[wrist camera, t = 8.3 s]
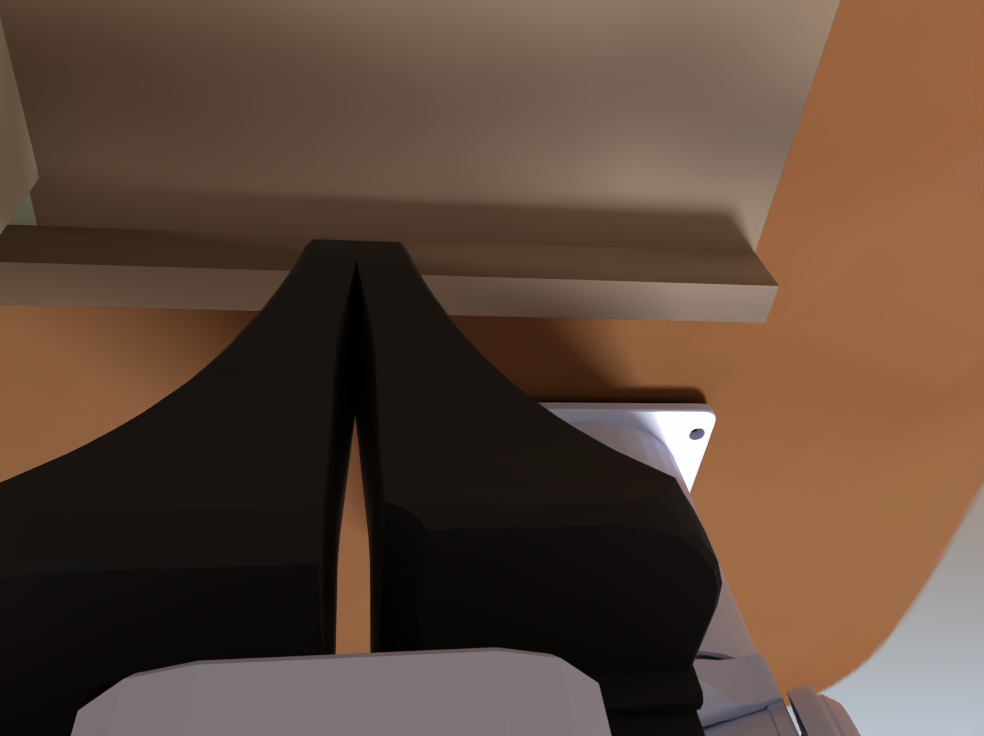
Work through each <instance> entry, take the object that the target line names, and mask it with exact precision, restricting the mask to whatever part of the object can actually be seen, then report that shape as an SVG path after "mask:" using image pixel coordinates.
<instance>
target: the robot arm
mask: <svg viewBox="0 0 984 736" xmlns="http://www.w3.org/2000/svg"><path fill="white" fill-rule="evenodd" d="M355 416H356V425H357V435H358V444H359V453H360V462H361V472H362V481H363V490H364V499H365V508H366V517H367V526H368V536H369V552H370V653H359V654H337V655H336V611H337V567H338V552H339V539H340V530H341V522H342V515H343V507H344V499H345V491H346V483H347V476H348V468H349V460H350V452H351V444H352V436H353V428H354V420H355ZM715 419H716V417H715V414H714V412H713V410H712V408H711V407H710V406H708V405H707V404H699V403H538V402H537V401H535V400H534V399H532V398H531V397H530V396H528V395H527V394H526V393H524V392H523V391H522V390H521V389H519V388H518V387H517V386H516V385H514V384H513V383H512V382H511V381H509V380H508V379H507V378H506V377H505V376H504V375H503V374H502V373H501V372H500V371H498V370H497V369H496V368H495V367H494V366H493V365H492V364H491V363H490V362H489V361H488V360H487V359H486V358H485V357H484V356H483V355H482V354H481V353H480V352H479V351H478V350H477V349H476V348H475V346H474V345H473V344H472V343H471V342H470V341H469V340H468V338H467V337H466V336H465V335H464V334H463V333H462V332H461V330H460V329H459V328H458V327H457V325H456V324H455V323H454V322H453V320H452V319H451V318H450V317H449V315H448V314H447V312H446V311H445V310H444V308H443V307H442V306H441V304H440V303H439V302H438V300H437V299H436V298H435V296H434V295H433V293H432V292H431V290H430V289H429V287H428V286H427V284H426V283H425V281H424V279H423V278H422V276H421V275H420V273H419V271H418V270H417V268H416V266H415V264H414V262H413V261H412V259H411V257H410V255H409V253H408V250H407V249H406V248H405V247H404V246H403V244H402V243H401V242H388V241H356V240H325V239H313V240H312V241H310V242H309V243H308V244H307V245H306V246H305V247H304V249H303V251H302V253H301V255H300V257H299V258H298V260H297V262H296V263H295V265H294V267H293V268H292V270H291V271H290V273H289V274H288V275H287V277H286V278H285V280H284V281H283V283H282V284H281V285H280V287H279V288H278V289H277V291H276V292H275V293H274V294H273V296H272V297H271V298H270V300H269V301H268V302H267V303H266V305H265V306H264V307H263V309H262V310H261V311H260V312H259V313H258V314H257V316H256V317H255V318H254V319H253V320H252V321H251V322H250V323H249V324H248V325H247V326H246V328H245V329H244V330H243V331H242V332H241V333H240V334H239V335H238V336H237V337H236V338H235V340H234V341H233V342H232V343H231V344H230V345H229V346H228V347H227V348H226V349H225V350H223V351H222V352H221V353H220V354H219V355H218V356H217V357H216V358H215V359H214V360H213V361H212V362H211V363H209V364H208V365H207V366H206V367H205V368H204V369H202V370H201V371H200V372H199V373H198V374H197V375H195V376H194V377H193V378H192V379H191V380H189V381H188V382H187V383H185V384H184V385H183V386H181V387H180V388H178V389H177V390H175V391H174V392H172V393H171V394H169V395H168V396H167V397H165V398H164V399H162V400H161V401H159V402H158V403H156V404H155V405H154V406H152V407H151V408H149V409H148V410H146V411H145V412H143V413H142V414H140V415H138V416H137V417H135V418H133V419H131V420H130V421H128V422H126V423H125V424H123V425H121V426H119V427H118V428H116V429H114V430H112V431H111V432H109V433H107V434H105V435H103V436H101V437H99V438H97V439H95V440H94V441H92V442H90V443H88V444H86V445H84V446H82V447H80V448H78V449H76V450H74V451H72V452H70V453H68V454H66V455H63V456H61V457H59V458H56V459H54V460H52V461H49V462H47V463H45V464H43V465H40V466H38V467H36V468H33V469H31V470H29V471H26V472H24V473H22V474H19V475H17V476H15V477H13V478H10V479H8V480H5V481H3V482H0V736H799V735H798V732H797V730H796V728H795V726H794V723H793V721H792V719H791V717H790V715H789V712H788V710H787V708H786V706H785V704H784V701H783V699H782V696H781V694H780V692H779V689H778V687H777V685H776V682H775V680H774V678H773V675H772V673H771V671H770V668H769V666H768V664H767V661H766V659H765V657H764V655H763V654H761V653H757V651H756V649H755V647H754V644H753V642H752V639H751V637H750V635H749V632H748V630H747V628H746V625H745V623H744V620H743V618H742V616H741V613H740V611H739V609H738V606H737V604H736V602H735V599H734V597H733V594H732V592H731V590H730V587H729V585H728V583H727V580H726V578H725V576H724V573H723V571H722V568H721V566H720V564H719V561H718V559H717V557H716V554H715V552H714V550H713V547H712V545H711V542H710V540H709V538H708V535H707V533H706V531H705V528H704V526H703V524H702V521H701V519H700V516H699V514H698V512H697V509H696V507H695V505H694V502H693V500H692V498H691V495H690V491H691V488H692V485H693V483H694V480H695V477H696V474H697V471H698V469H699V466H700V463H701V460H702V457H703V455H704V452H705V449H706V446H707V443H708V441H709V438H710V435H711V432H712V429H713V427H714V424H715ZM697 428H699V429H698V430H697V431H695V432H691V431H692V430H694V429H697ZM787 695H788V698H789V701H790V704H791V707H792V709H793V712H794V715H795V717H796V720H797V723H798V725H799V728H800V730H801V732H802V734H801V736H860V734H859V732H858V730H857V728H856V727H855V725H854V723H853V721H852V720H851V718H850V716H849V715H848V713H847V712H846V710H845V709H844V708H843V706H842V705H841V704H840V703H838V702H836V701H834V700H832V699H830V698H828V697H826V696H824V695H821V694H820V695H818V693H817V692H816V690H815V689H814V688H813V687H811V686H809V685H801V686H799V687H797V688H794V689H792V690H790V691H787Z"/></svg>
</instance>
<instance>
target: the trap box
mask: <svg viewBox="0 0 984 736" xmlns="http://www.w3.org/2000/svg"><path fill="white" fill-rule="evenodd" d="M839 3H840V0H0V18H1V22H2V26H3V30H4V34H5V38H6V42H7V47H8V51H9V55H10V59H11V63H12V67H13V71H14V75H15V79H16V83H17V88H18V92H19V96H20V100H21V104H22V108H23V112H24V116H25V120H26V124H27V129H28V133H29V137H30V141H31V145H32V149H33V153H34V157H35V161H36V165H37V169H38V174H39V179H38V180H37V182H36V183H35V185H34V186H33V188H32V189H31V191H30V192H29V194H28V195H27V196H26V198H25V199H24V201H23V202H22V204H21V205H20V207H19V208H18V210H17V211H16V212H15V214H14V215H13V217H12V218H11V220H10V221H9V223H8V224H7V226H6V227H5V228H4V230H3V231H2V233H1V234H0V305H28V306H71V307H114V308H158V309H201V310H244V311H261V310H262V309H263V307H264V306H265V305H266V303H267V302H268V301H269V300H270V298H271V297H272V296H273V294H274V293H275V292H276V291H277V289H278V288H279V287H280V285H281V284H282V283H283V281H284V280H285V278H286V277H287V275H288V274H289V273H290V271H291V270H292V268H293V267H294V265H295V263H296V262H297V260H298V258H299V257H300V255H301V253H302V251H303V249H304V247H305V246H306V245H307V244H308V243H309V242H310V241H312V240H313V239H325V240H356V241H388V242H401V243H402V244H403V246H404V247H405V248H406V249H407V250H408V253H409V255H410V257H411V259H412V261H413V262H414V264H415V266H416V268H417V270H418V271H419V273H420V275H421V276H422V278H423V279H424V281H425V283H426V284H427V286H428V287H429V289H430V290H431V292H432V293H433V295H434V296H435V298H436V299H437V300H438V302H439V303H440V304H441V306H442V307H443V308H444V310H445V311H446V312H447V314H448V315H460V316H503V317H546V318H589V319H632V320H675V321H718V322H761V323H766V320H767V317H768V314H769V312H770V309H771V306H772V304H773V301H774V298H775V295H776V293H777V290H778V287H779V285H778V284H777V283H776V281H775V280H774V279H773V277H772V276H771V274H770V273H769V272H768V270H767V269H766V268H765V266H764V265H763V264H762V262H761V261H760V259H759V258H758V257H757V255H756V254H755V250H756V247H757V244H758V241H759V238H760V235H761V232H762V229H763V226H764V224H765V221H766V218H767V215H768V212H769V209H770V206H771V203H772V200H773V197H774V194H775V191H776V188H777V185H778V182H779V179H780V176H781V173H782V171H783V168H784V165H785V162H786V159H787V156H788V153H789V150H790V147H791V144H792V141H793V138H794V135H795V132H796V129H797V126H798V123H799V120H800V118H801V115H802V112H803V109H804V106H805V103H806V100H807V97H808V94H809V91H810V88H811V85H812V82H813V79H814V76H815V73H816V70H817V67H818V65H819V62H820V59H821V56H822V53H823V50H824V47H825V44H826V41H827V38H828V35H829V32H830V29H831V26H832V23H833V20H834V17H835V14H836V12H837V9H838V6H839Z"/></svg>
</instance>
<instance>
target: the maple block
mask: <svg viewBox="0 0 984 736" xmlns="http://www.w3.org/2000/svg"><path fill="white" fill-rule="evenodd" d="M38 179H39V174H38V169H37V165H36V161H35V157H34V153H33V149H32V145H31V141H30V137H29V133H28V129H27V124H26V120H25V116H24V112H23V108H22V104H21V100H20V96H19V92H18V88H17V83H16V79H15V75H14V71H13V67H12V63H11V59H10V55H9V51H8V47H7V42H6V38H5V34H4V30H3V26H2V22H1V18H0V234H1V233H2V231H3V230H4V228H5V227H6V226H7V224H8V223H9V221H10V220H11V218H12V217H13V215H14V214H15V212H16V211H17V210H18V208H19V207H20V205H21V204H22V202H23V201H24V199H25V198H26V196H27V195H28V194H29V192H30V191H31V189H32V188H33V186H34V185H35V183H36V182H37V180H38Z"/></svg>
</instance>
